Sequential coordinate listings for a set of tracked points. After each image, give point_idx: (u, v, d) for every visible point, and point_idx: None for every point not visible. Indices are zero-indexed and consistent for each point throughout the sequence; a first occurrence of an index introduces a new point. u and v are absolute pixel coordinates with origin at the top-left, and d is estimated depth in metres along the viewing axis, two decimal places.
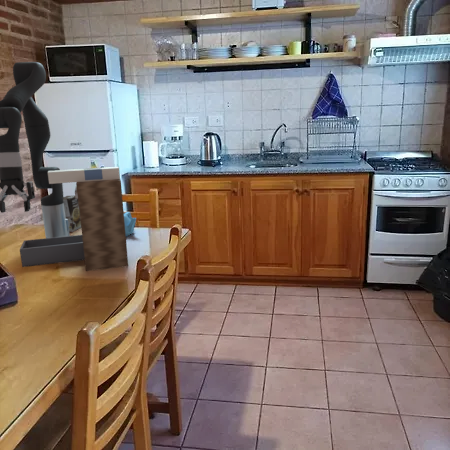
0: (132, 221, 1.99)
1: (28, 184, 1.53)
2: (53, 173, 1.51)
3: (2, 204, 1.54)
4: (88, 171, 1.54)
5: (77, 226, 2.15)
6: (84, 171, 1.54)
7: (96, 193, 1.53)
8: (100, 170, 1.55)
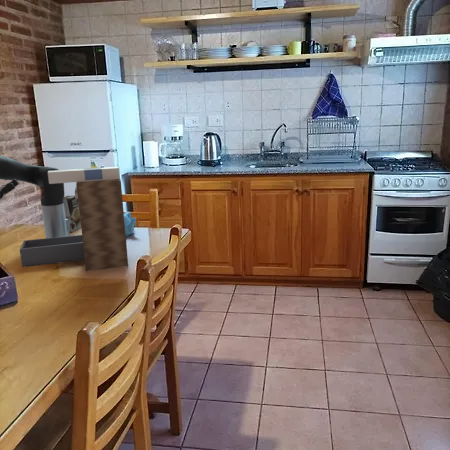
0: (132, 221, 1.99)
1: None
2: (53, 173, 1.51)
3: None
4: (88, 171, 1.54)
5: (77, 226, 2.15)
6: (84, 171, 1.54)
7: (96, 193, 1.53)
8: (100, 170, 1.55)
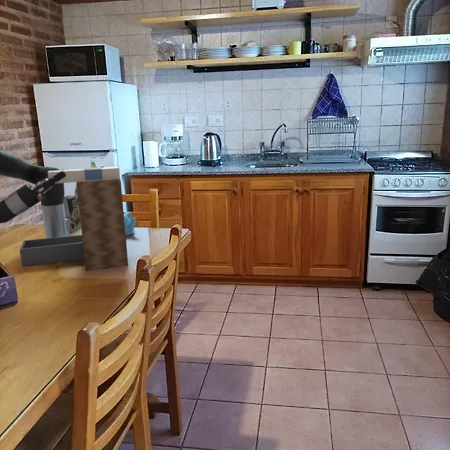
0: (132, 221, 1.99)
1: (42, 192, 1.48)
2: (53, 173, 1.51)
3: None
4: (88, 171, 1.54)
5: (77, 226, 2.15)
6: (84, 171, 1.54)
7: (96, 193, 1.53)
8: (100, 170, 1.55)
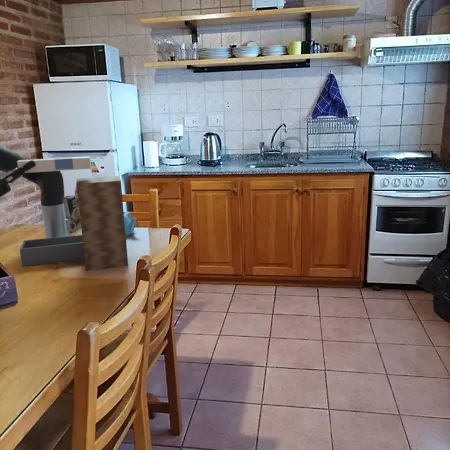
0: (132, 221, 1.99)
1: (11, 181, 1.48)
2: (23, 162, 1.51)
3: None
4: (58, 160, 1.54)
5: (77, 226, 2.15)
6: (54, 160, 1.54)
7: (96, 193, 1.53)
8: (70, 160, 1.55)
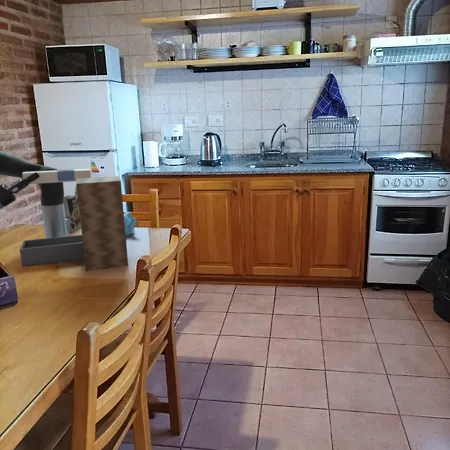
0: (132, 221, 1.99)
1: (17, 192, 1.57)
2: (27, 174, 1.61)
3: None
4: (61, 173, 1.64)
5: (77, 226, 2.15)
6: (57, 172, 1.64)
7: (96, 193, 1.53)
8: (72, 172, 1.65)
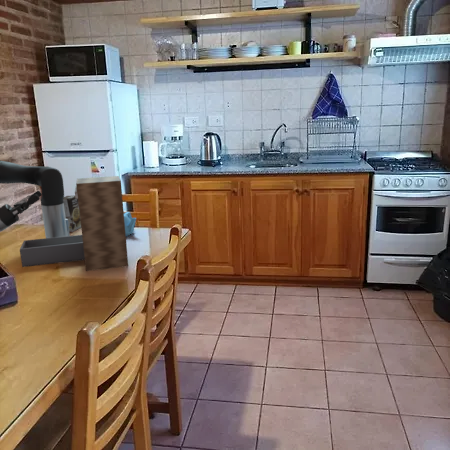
0: (132, 221, 1.99)
1: (17, 215, 1.59)
2: None
3: None
4: None
5: (77, 226, 2.15)
6: None
7: (96, 193, 1.53)
8: None
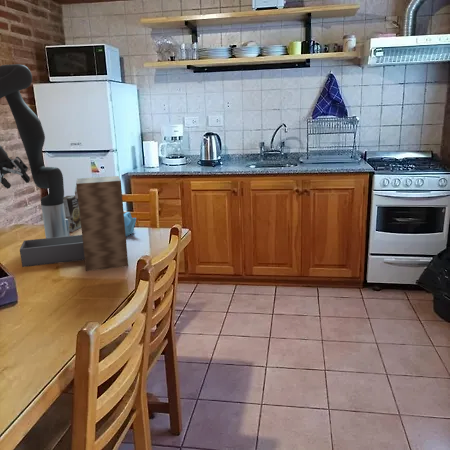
0: (132, 221, 1.99)
1: (16, 162, 1.56)
2: None
3: (4, 182, 1.63)
4: None
5: (77, 226, 2.15)
6: None
7: (96, 193, 1.53)
8: None
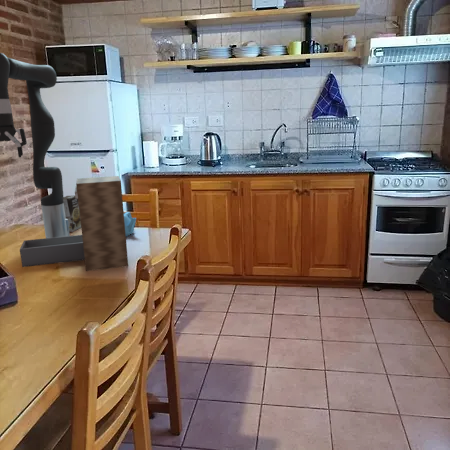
0: (132, 221, 1.99)
1: (21, 130, 1.59)
2: None
3: None
4: None
5: (77, 226, 2.15)
6: None
7: (96, 193, 1.53)
8: None
